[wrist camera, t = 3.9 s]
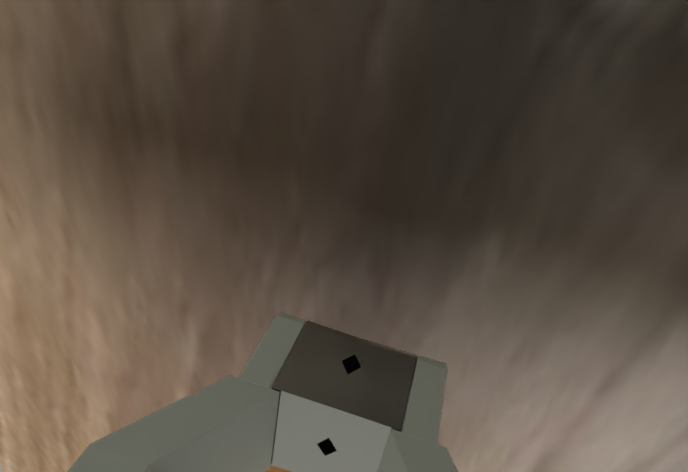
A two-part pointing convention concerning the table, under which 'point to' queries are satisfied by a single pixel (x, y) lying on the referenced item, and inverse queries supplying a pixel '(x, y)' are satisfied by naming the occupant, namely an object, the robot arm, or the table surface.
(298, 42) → the table surface
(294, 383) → the robot arm
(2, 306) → the table surface
